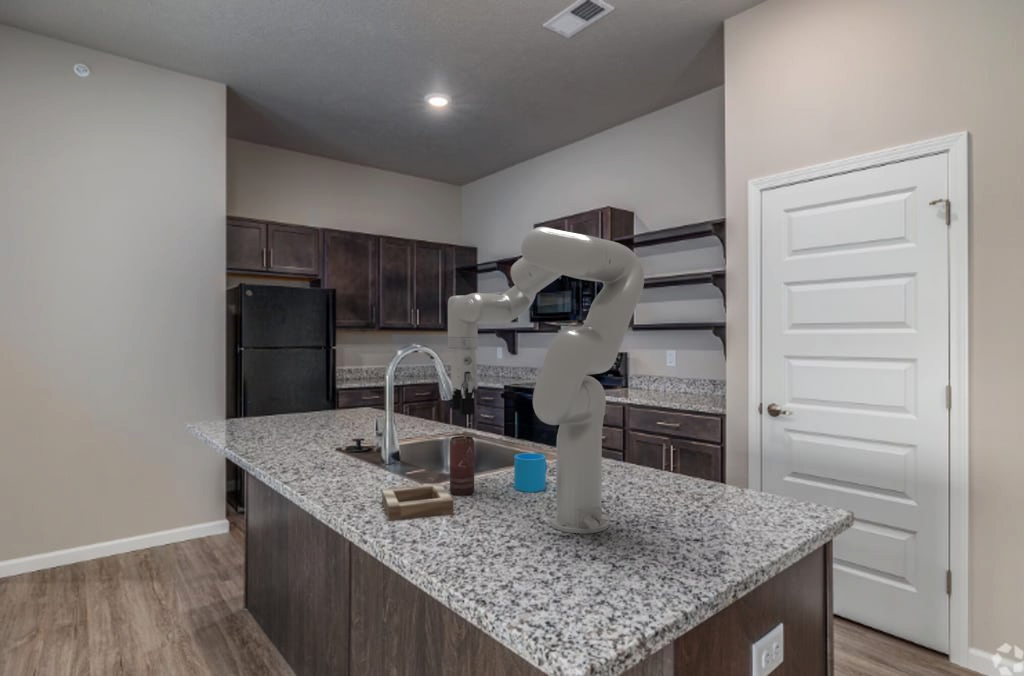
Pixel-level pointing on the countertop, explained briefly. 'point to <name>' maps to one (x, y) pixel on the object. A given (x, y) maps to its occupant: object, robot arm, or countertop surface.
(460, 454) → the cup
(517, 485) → the mug
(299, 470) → the countertop surface
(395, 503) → the socket block
